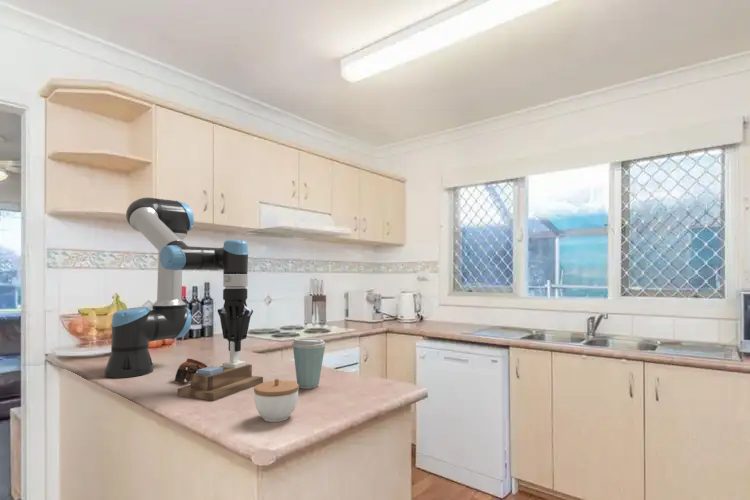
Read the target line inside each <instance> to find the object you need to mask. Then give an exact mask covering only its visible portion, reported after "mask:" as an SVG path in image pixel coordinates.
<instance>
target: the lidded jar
mask: <svg viewBox="0 0 750 500" xmlns="http://www.w3.org/2000/svg"><path fill="white" fill-rule="evenodd" d="M253 392H254V404H255V409H256V410H257V411H256V412H257V413H258V414H259V416H260V417H261V418H263V420H264V421H265V422H267V423H268V422H269V423H277V422H278V423H279V422H283V421H284V422H285V421H286V420H288V419H289V418H290V416H291V415H292V414H293V413H294V411H295V410H296V408H297V404H298V400H299V385H298V383H297V381H291V380H280V379H279V378H274V380H271V381H263V383H261V384H258V385H256V386H254V387H253Z"/></svg>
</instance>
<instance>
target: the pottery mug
mask: <svg viewBox="0 0 750 500" xmlns="http://www.w3.org/2000/svg"><path fill="white" fill-rule="evenodd" d="M206 367H208V365H207V364H205V363H203V362H202V361H199V360H197V359H193V358H187V359H186V361H183V362H182V363H181V364H180V365H179V367H178V368H177V371H176V373H175V377H174V382H175V383H179V384H184V383H185V381H187V382H191V374H194V373H198V369H202V368H206Z"/></svg>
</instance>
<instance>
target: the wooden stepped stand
mask: <svg viewBox="0 0 750 500" xmlns="http://www.w3.org/2000/svg"><path fill="white" fill-rule="evenodd" d="M219 367H223V365H221V366H219ZM252 373H253V366H252V364H248V363H246V366H242V367H239V368H235V369H234V368H225V367H223V372H221V373H218V374H214V375H211V376H209V375H201V374H198V372H196V373H194V374H191V381H190V384H189V385H185V386H182V387H179V388H178V387H177V396H178V395H181V396H180V397H185V396H187V397H186V398H191V397H193V399H198V398H199V400H204V399H205V401H211V402H215V401H218V400H220V399H223V398H225V397H229V396H231V395H234V394H237V393H240V392H243V391H245V390H248V389H251V388H254V387H255V386H256V385H258V384H261V383H264V377H263V376H259V375H258V376H257V375H253V374H252Z"/></svg>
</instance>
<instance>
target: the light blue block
mask: <svg viewBox="0 0 750 500" xmlns="http://www.w3.org/2000/svg"><path fill="white" fill-rule="evenodd" d="M221 372H223V367H220V366H214V365H209V366H207V367H206V368H202V369H198V371H197V373H198V374H201V375H209V376H211V375H214V374H218V373H221Z"/></svg>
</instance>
